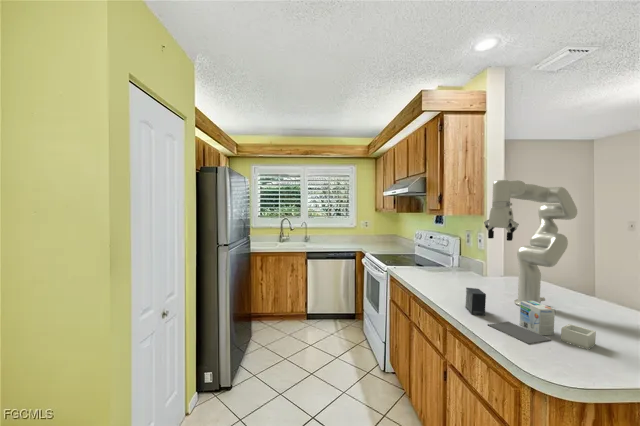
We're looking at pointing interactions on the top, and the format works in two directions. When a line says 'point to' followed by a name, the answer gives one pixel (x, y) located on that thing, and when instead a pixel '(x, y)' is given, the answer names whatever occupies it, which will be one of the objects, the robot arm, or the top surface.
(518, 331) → the mat
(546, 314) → the light bulb box
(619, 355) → the top surface
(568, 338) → the grey tub
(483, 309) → the small box
